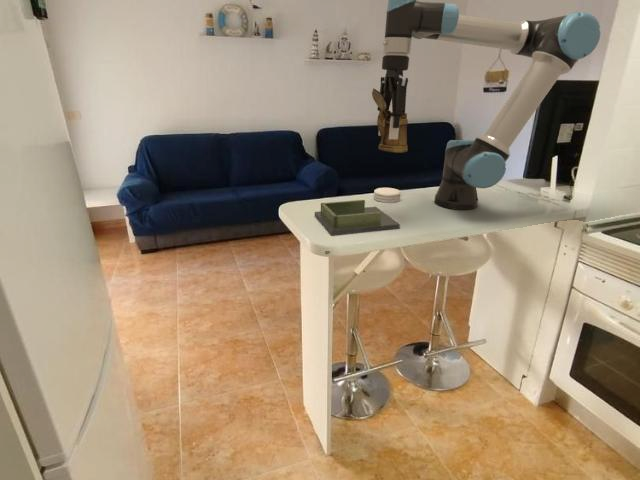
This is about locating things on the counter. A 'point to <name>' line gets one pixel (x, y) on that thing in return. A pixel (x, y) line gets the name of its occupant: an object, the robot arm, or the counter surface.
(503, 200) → the counter surface
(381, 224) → the green and grey tray
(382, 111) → the wooden mug
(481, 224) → the counter surface
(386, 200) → the coaster
